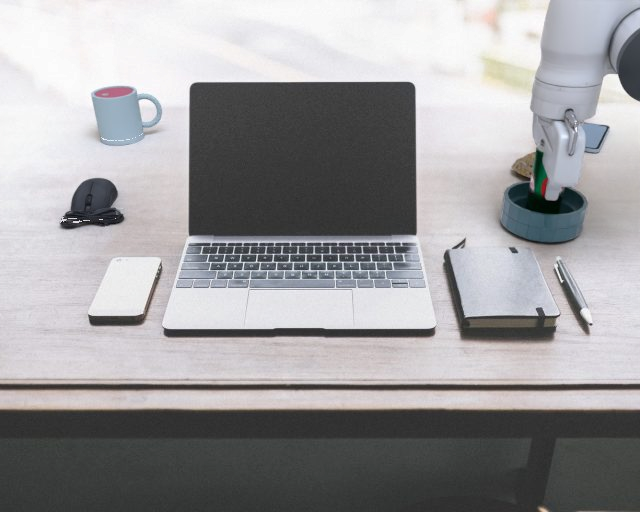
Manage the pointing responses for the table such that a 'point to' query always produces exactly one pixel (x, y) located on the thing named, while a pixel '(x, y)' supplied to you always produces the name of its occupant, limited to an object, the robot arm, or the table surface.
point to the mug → (121, 114)
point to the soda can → (541, 187)
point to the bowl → (543, 215)
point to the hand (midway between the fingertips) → (546, 188)
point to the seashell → (524, 165)
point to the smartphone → (595, 136)
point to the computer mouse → (94, 203)
